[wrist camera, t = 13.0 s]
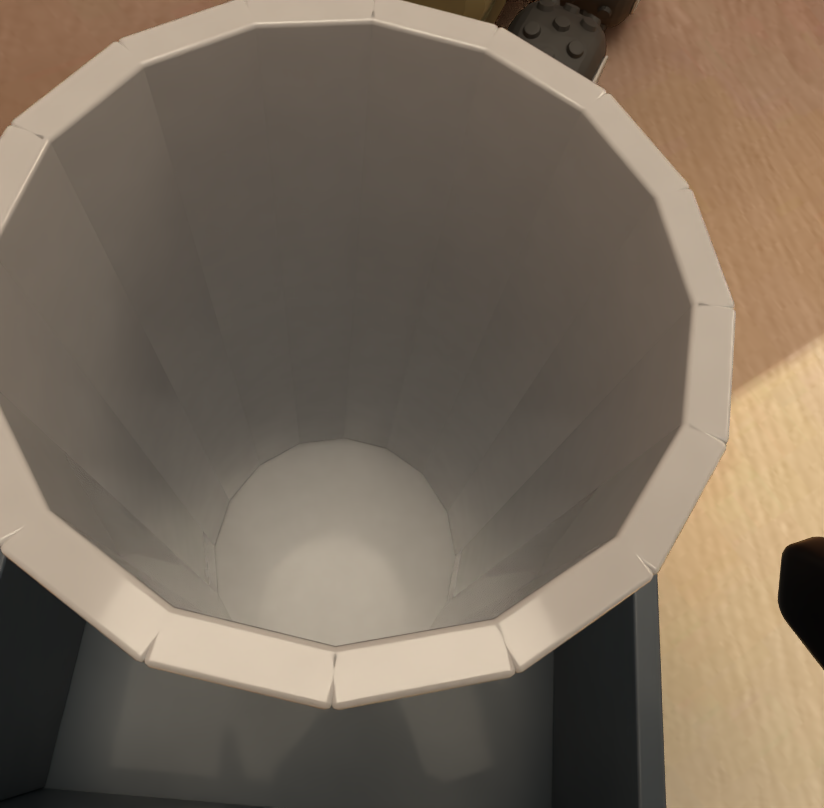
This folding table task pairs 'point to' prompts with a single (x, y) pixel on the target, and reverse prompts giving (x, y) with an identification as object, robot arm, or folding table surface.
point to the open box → (323, 727)
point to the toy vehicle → (554, 26)
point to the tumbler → (348, 349)
